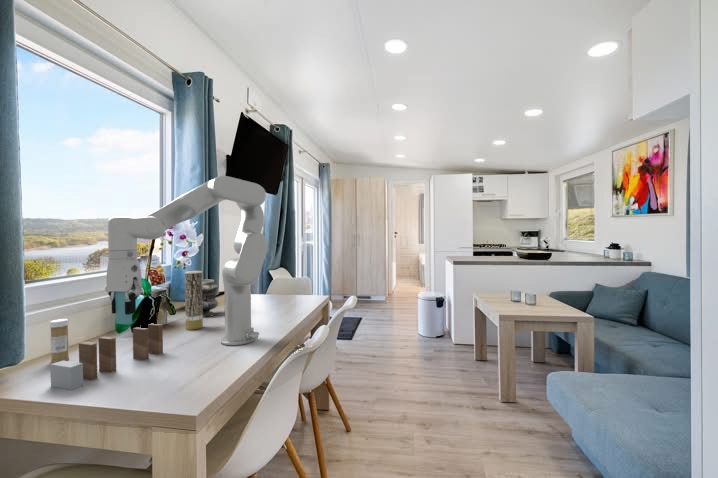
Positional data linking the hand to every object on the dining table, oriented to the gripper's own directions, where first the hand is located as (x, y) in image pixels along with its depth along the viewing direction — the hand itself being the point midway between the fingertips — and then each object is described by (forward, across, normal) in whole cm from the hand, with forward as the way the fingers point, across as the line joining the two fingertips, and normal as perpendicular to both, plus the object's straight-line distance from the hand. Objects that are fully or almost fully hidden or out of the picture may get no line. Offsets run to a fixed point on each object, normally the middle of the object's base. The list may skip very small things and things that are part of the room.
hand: (123, 312), depth 110 cm
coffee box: (+17, +33, -39) cm, 54 cm away
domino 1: (+17, 0, +11) cm, 20 cm away
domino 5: (+16, 0, -11) cm, 20 cm away
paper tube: (+17, +12, -41) cm, 46 cm away
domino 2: (+17, 0, +5) cm, 17 cm away
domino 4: (+17, 0, -6) cm, 17 cm away
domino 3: (+3, 0, 0) cm, 3 cm away
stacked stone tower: (+17, +26, -63) cm, 70 cm away
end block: (+17, 0, +16) cm, 23 cm away
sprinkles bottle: (+17, +24, +4) cm, 29 cm away
